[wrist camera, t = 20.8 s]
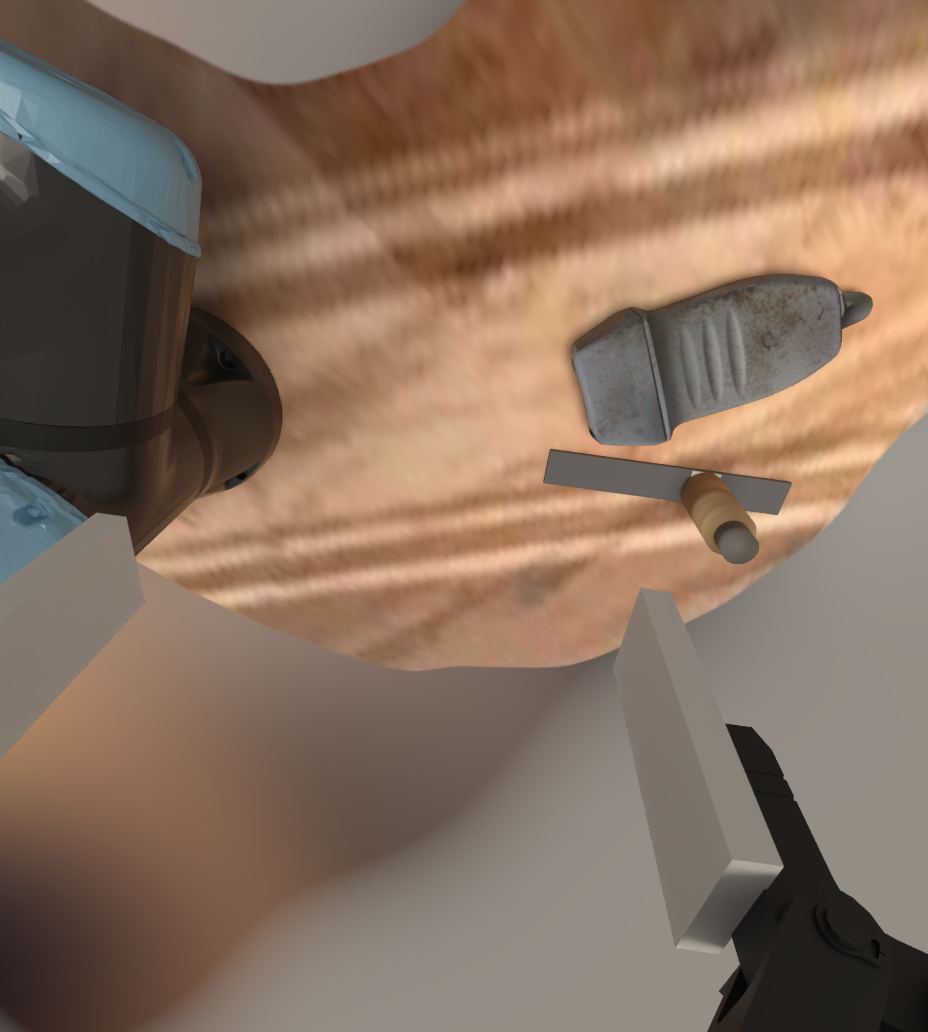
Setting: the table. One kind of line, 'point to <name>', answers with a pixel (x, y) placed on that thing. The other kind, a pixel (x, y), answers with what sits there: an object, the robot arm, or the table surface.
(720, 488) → the tan bottle
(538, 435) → the table surface
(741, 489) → the strip
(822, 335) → the handheld device
